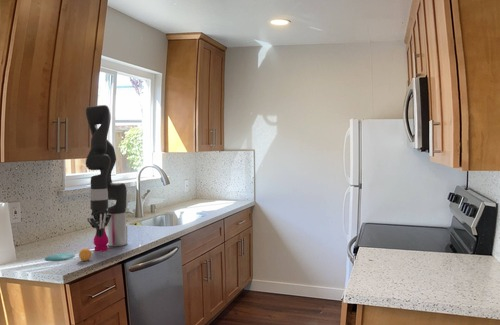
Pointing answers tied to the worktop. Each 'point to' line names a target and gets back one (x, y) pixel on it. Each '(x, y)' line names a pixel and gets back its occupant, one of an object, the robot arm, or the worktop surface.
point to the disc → (59, 257)
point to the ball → (85, 254)
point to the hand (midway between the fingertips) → (100, 236)
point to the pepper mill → (101, 242)
